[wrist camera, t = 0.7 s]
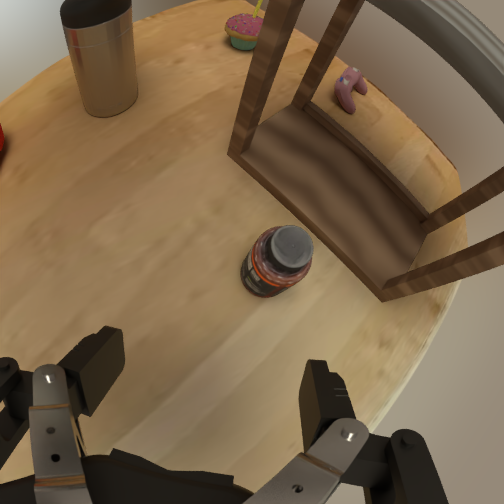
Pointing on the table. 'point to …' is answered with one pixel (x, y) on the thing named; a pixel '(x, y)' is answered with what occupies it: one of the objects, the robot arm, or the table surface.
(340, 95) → the video game controller
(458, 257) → the under-counter shelf
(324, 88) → the table surface
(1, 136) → the tomato
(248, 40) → the cupcake
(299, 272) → the supplement bottle
